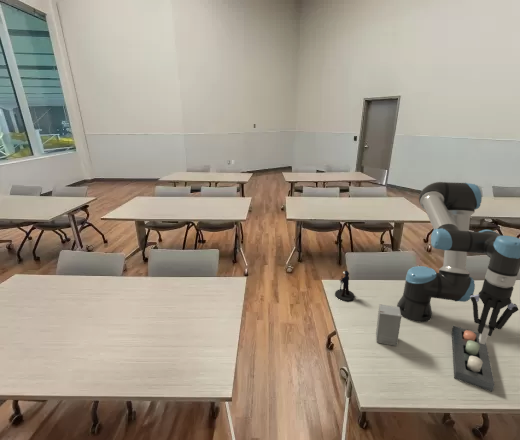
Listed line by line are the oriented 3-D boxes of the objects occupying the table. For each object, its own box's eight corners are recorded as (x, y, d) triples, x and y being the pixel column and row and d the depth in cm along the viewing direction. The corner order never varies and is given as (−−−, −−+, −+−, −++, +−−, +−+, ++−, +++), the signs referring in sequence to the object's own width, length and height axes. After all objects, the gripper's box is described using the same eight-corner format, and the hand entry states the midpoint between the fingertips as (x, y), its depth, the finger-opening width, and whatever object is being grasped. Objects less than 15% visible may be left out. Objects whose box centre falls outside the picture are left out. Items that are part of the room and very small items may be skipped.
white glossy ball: (467, 369, 103) (469, 361, 102) (466, 361, 106) (468, 354, 105) (480, 374, 101) (483, 366, 100) (479, 366, 104) (482, 358, 103)
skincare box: (395, 336, 124) (400, 306, 118) (397, 348, 117) (403, 316, 112) (374, 332, 126) (379, 302, 121) (375, 343, 120) (380, 312, 115)
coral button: (462, 341, 118) (464, 334, 117) (462, 335, 121) (464, 329, 120) (474, 345, 116) (476, 338, 115) (473, 339, 119) (475, 332, 118)
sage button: (465, 352, 110) (467, 345, 109) (464, 346, 114) (466, 339, 112) (478, 356, 108) (480, 349, 107) (476, 350, 112) (479, 342, 110)
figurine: (345, 288, 159) (348, 265, 154) (358, 298, 150) (361, 273, 146) (331, 293, 155) (333, 268, 150) (343, 303, 147) (345, 277, 142)
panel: (454, 378, 103) (456, 371, 102) (451, 331, 126) (453, 325, 125) (492, 392, 98) (494, 384, 97) (482, 341, 121) (484, 334, 120)
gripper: (475, 282, 93) (460, 341, 100) (528, 293, 87) (507, 355, 94) (473, 272, 99) (458, 328, 106) (522, 282, 93) (503, 341, 100)
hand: (481, 341), depth 100 cm, fingers closed
